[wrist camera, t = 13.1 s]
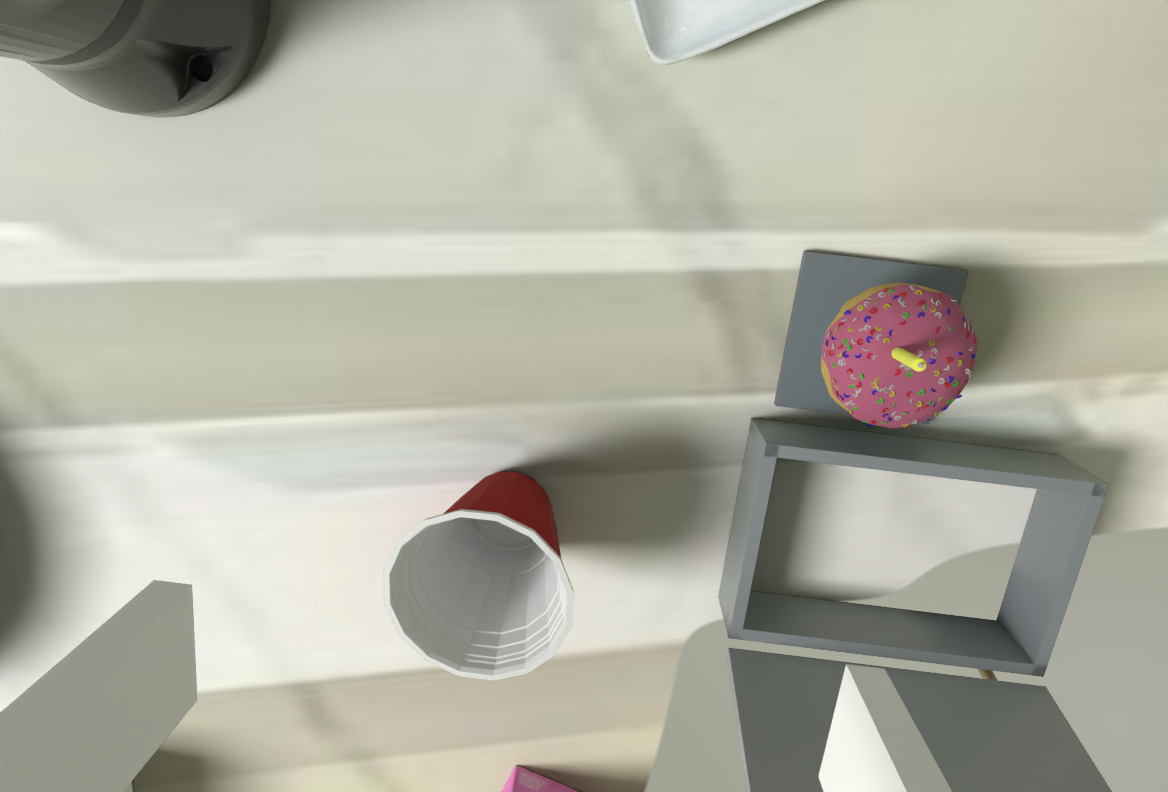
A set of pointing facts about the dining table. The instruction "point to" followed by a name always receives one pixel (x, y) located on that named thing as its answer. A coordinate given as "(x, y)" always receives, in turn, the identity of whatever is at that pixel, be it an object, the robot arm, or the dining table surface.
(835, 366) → the cupcake
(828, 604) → the case
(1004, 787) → the lid
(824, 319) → the mat
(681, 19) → the salad plate
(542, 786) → the gum box
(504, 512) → the plastic cup
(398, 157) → the dining table surface
